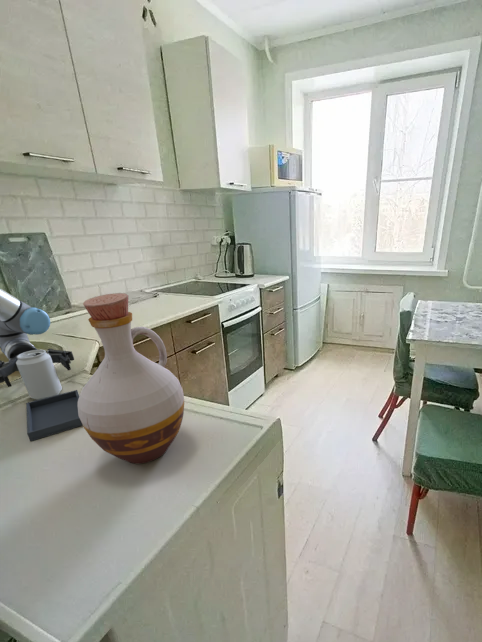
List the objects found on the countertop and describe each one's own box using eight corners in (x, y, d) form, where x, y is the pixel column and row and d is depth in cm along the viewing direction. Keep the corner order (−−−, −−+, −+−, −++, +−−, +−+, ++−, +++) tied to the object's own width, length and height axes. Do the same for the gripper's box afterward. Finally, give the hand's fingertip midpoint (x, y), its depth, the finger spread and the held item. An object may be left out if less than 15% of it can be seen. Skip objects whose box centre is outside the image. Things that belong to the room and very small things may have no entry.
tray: (89, 423, 80) (86, 416, 79) (30, 441, 74) (27, 433, 73) (79, 396, 93) (77, 389, 92) (29, 410, 87) (26, 402, 86)
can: (64, 395, 94) (48, 353, 88) (30, 404, 90) (12, 360, 85) (61, 386, 99) (47, 345, 94) (30, 394, 96) (13, 352, 90)
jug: (148, 417, 81) (114, 284, 68) (214, 429, 75) (191, 286, 62) (74, 470, 65) (11, 308, 52) (152, 491, 59) (102, 314, 46)
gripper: (72, 354, 115) (94, 371, 101) (-25, 379, 99) (-15, 403, 85) (65, 332, 112) (86, 346, 98) (-36, 354, 96) (-28, 375, 82)
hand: (39, 373), depth 91 cm, fingers open, 13 cm apart
